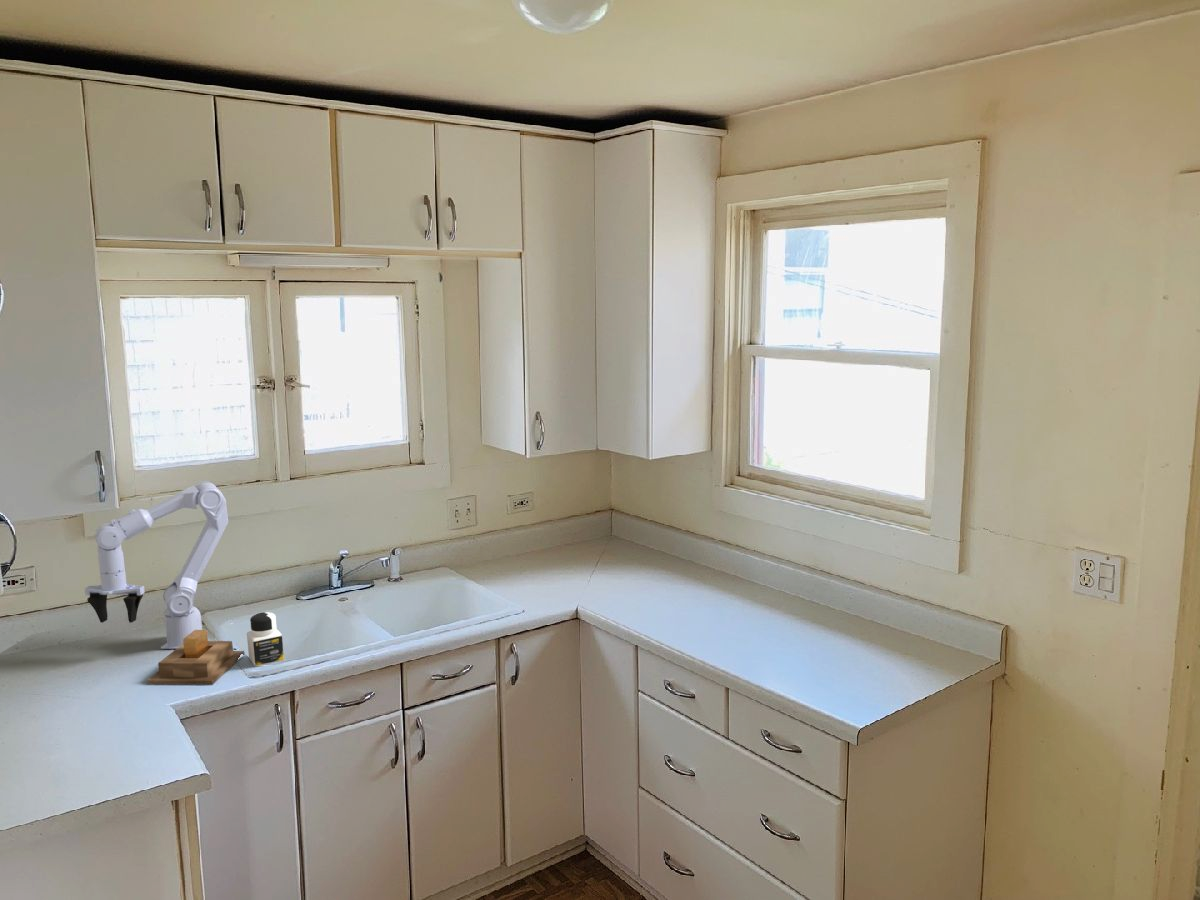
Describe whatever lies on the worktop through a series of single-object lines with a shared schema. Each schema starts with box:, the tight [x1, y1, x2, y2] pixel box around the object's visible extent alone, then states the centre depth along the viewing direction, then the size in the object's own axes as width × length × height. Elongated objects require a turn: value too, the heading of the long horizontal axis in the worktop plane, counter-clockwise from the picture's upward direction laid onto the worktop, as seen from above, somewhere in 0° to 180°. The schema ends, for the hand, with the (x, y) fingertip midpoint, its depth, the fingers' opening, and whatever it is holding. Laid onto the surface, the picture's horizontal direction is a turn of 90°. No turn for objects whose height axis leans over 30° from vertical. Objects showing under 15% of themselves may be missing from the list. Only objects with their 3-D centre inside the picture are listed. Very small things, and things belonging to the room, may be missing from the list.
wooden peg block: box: [183, 629, 209, 658], centre depth 227 cm, size 6×3×8 cm, turn 177°
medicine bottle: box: [246, 611, 285, 668], centre depth 232 cm, size 7×7×12 cm
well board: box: [146, 640, 246, 686], centre depth 227 cm, size 18×16×4 cm
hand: (118, 621), depth 235 cm, fingers open, 7 cm apart
